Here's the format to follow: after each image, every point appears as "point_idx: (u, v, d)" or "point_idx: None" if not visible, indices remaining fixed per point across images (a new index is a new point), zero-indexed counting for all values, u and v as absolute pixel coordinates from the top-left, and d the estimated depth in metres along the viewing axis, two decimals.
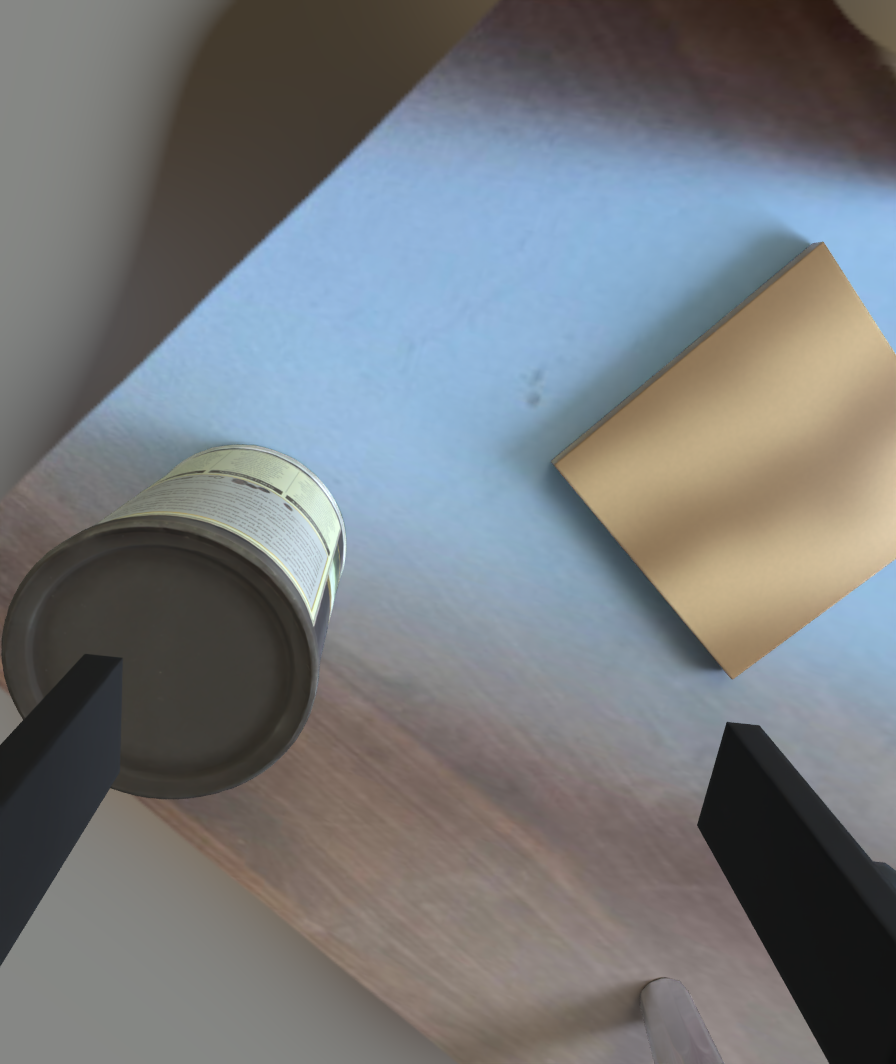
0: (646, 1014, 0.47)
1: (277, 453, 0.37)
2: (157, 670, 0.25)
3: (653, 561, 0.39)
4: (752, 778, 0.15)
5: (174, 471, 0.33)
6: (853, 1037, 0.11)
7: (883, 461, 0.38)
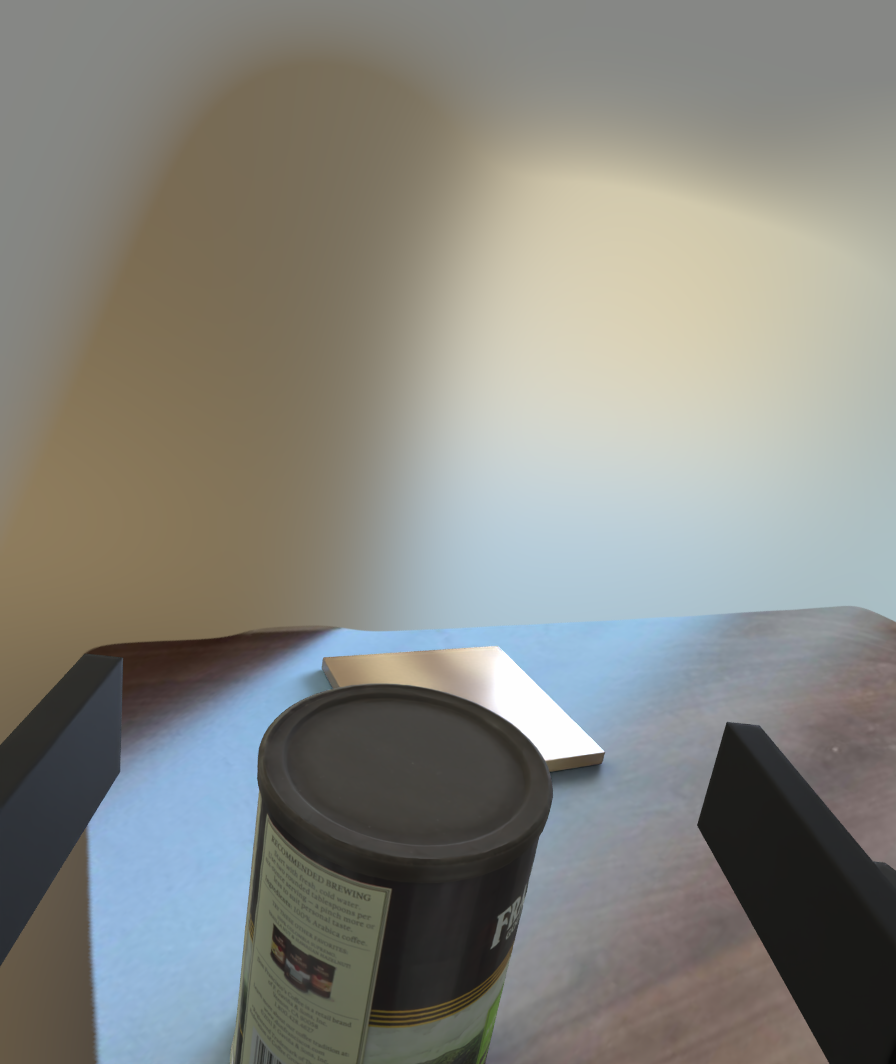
0: None
1: None
2: (410, 764, 0.26)
3: None
4: (752, 778, 0.15)
5: None
6: (853, 1037, 0.11)
7: (463, 667, 0.61)
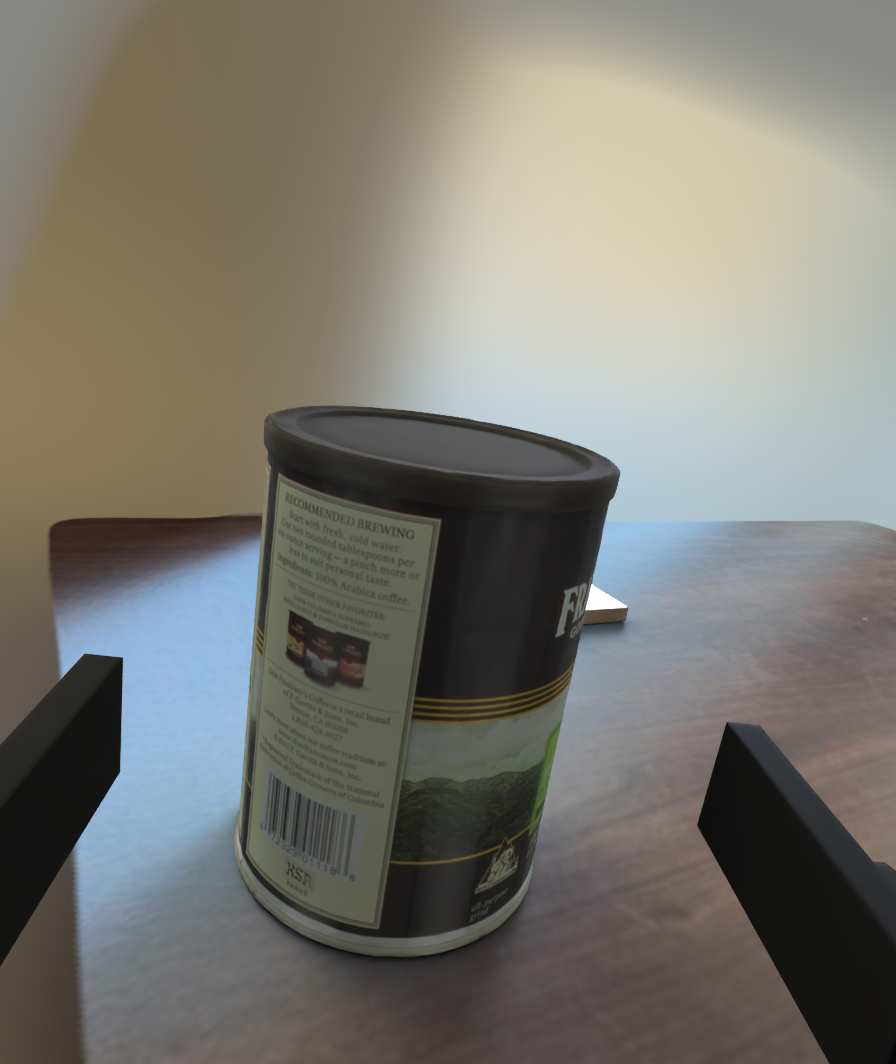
0: None
1: None
2: (447, 444, 0.22)
3: None
4: (752, 778, 0.15)
5: None
6: (853, 1037, 0.11)
7: None
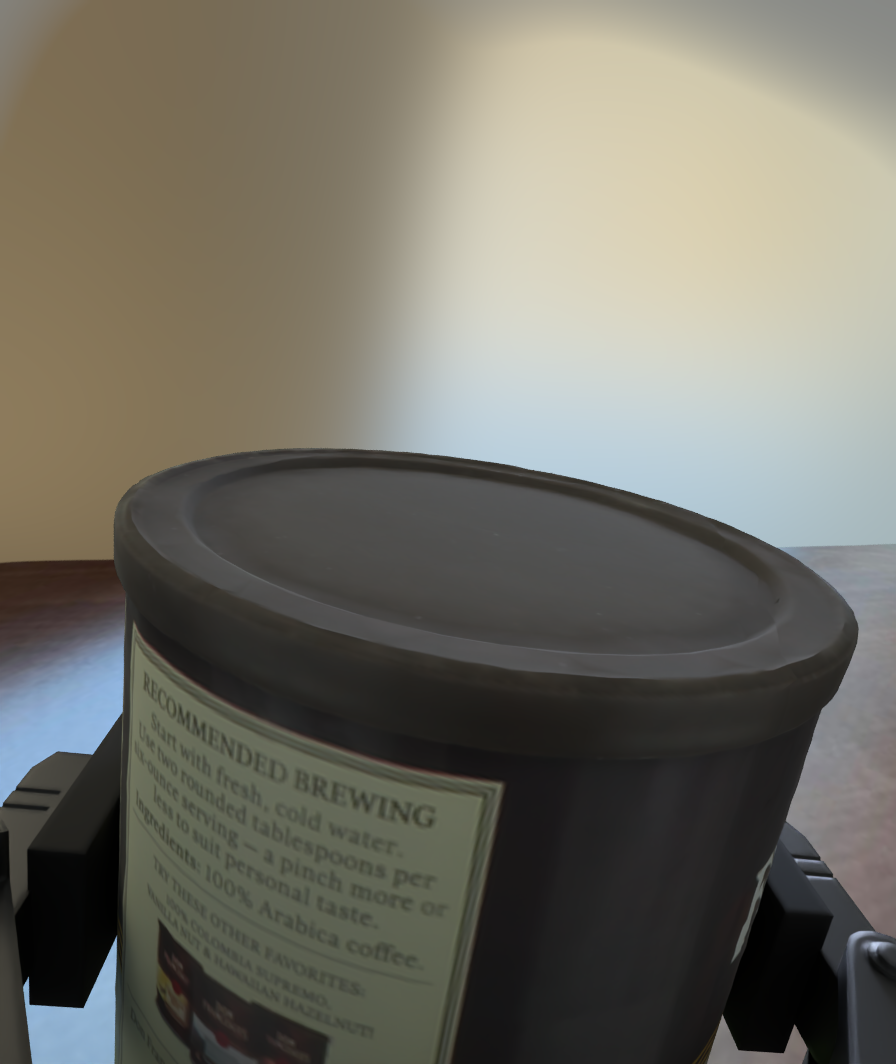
0: None
1: None
2: (491, 535, 0.11)
3: None
4: None
5: None
6: None
7: None
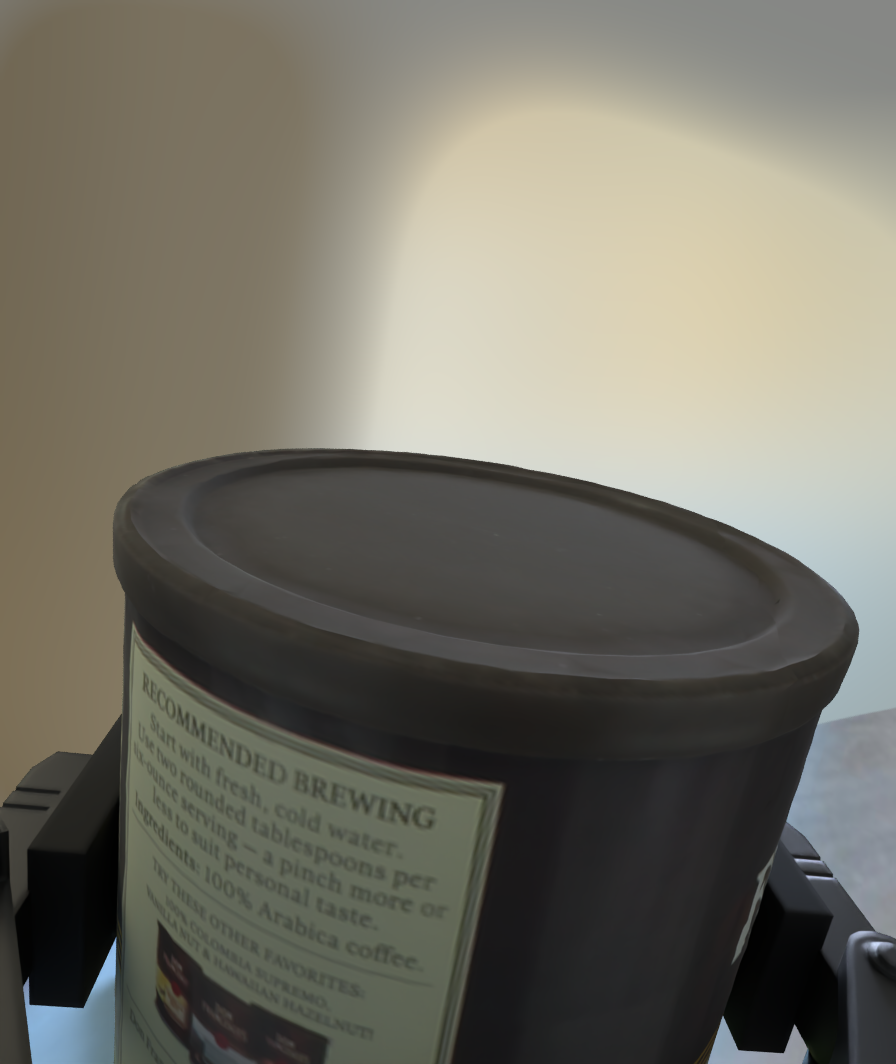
0: None
1: None
2: (491, 536, 0.11)
3: None
4: None
5: None
6: None
7: None
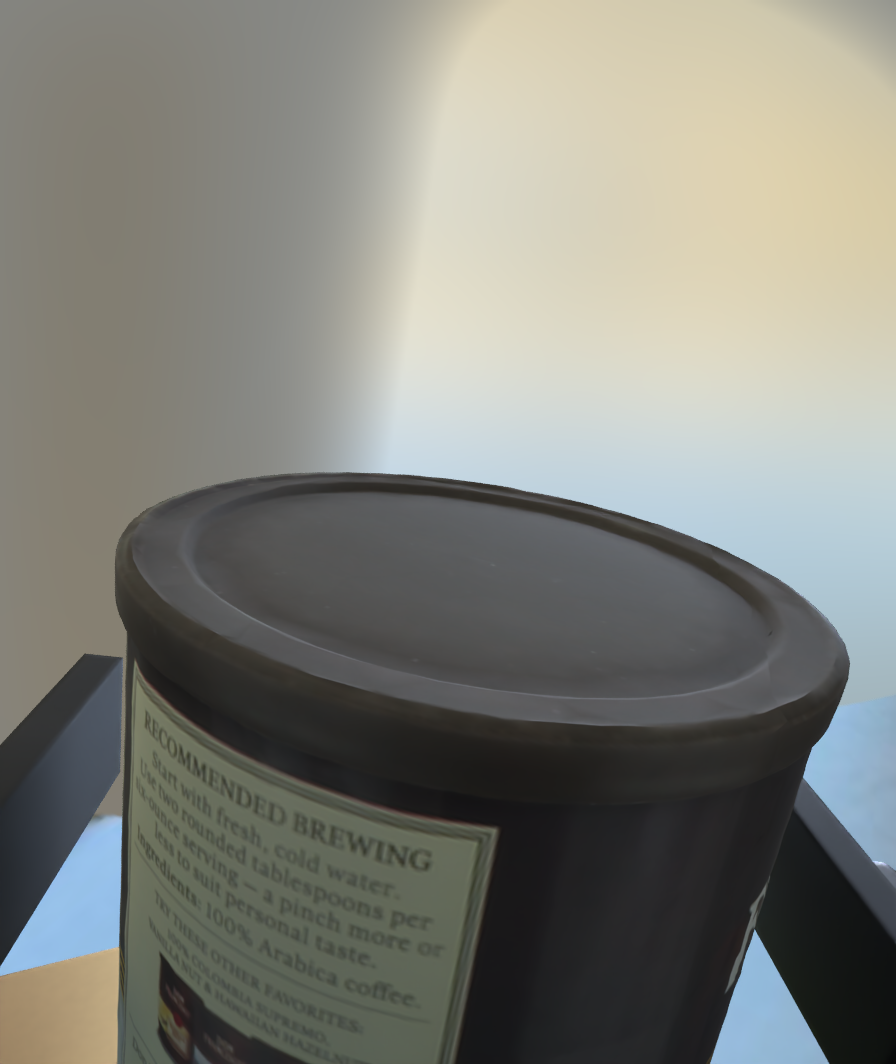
0: None
1: None
2: (488, 565, 0.11)
3: None
4: None
5: None
6: (853, 1037, 0.11)
7: None
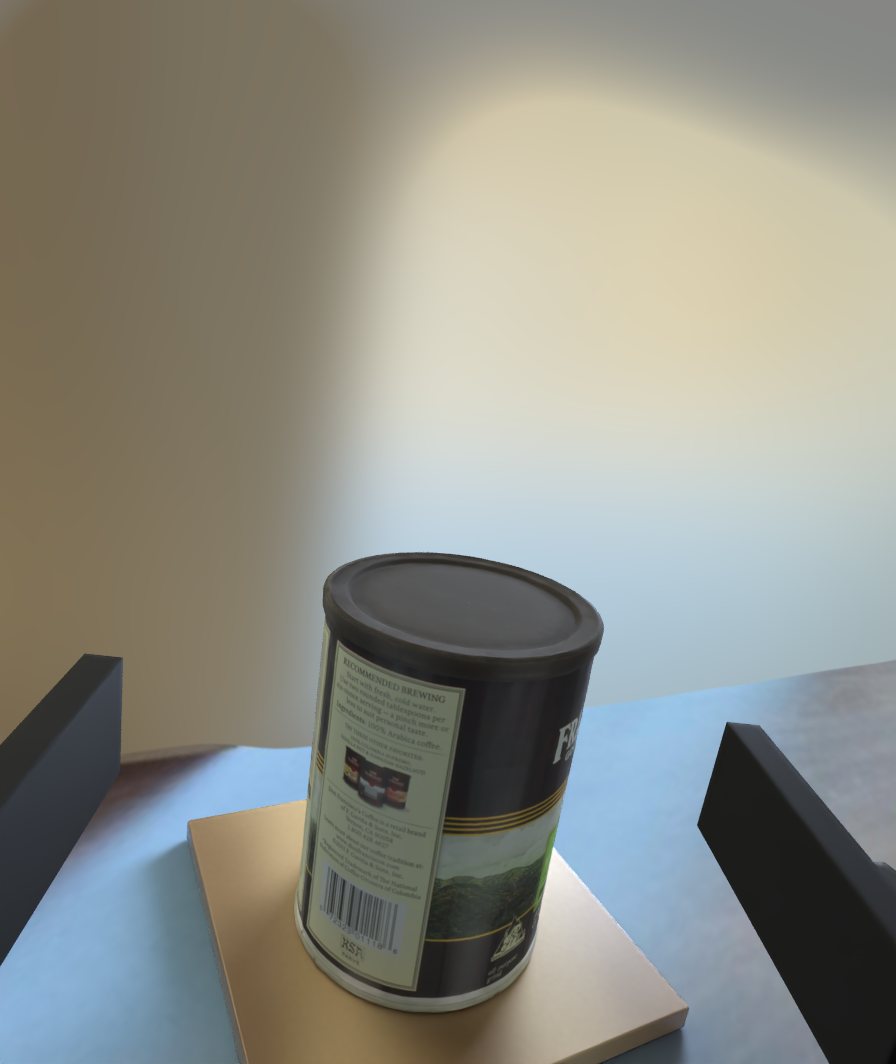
0: None
1: None
2: (466, 602, 0.27)
3: None
4: (752, 777, 0.15)
5: (304, 826, 0.29)
6: (853, 1037, 0.11)
7: None
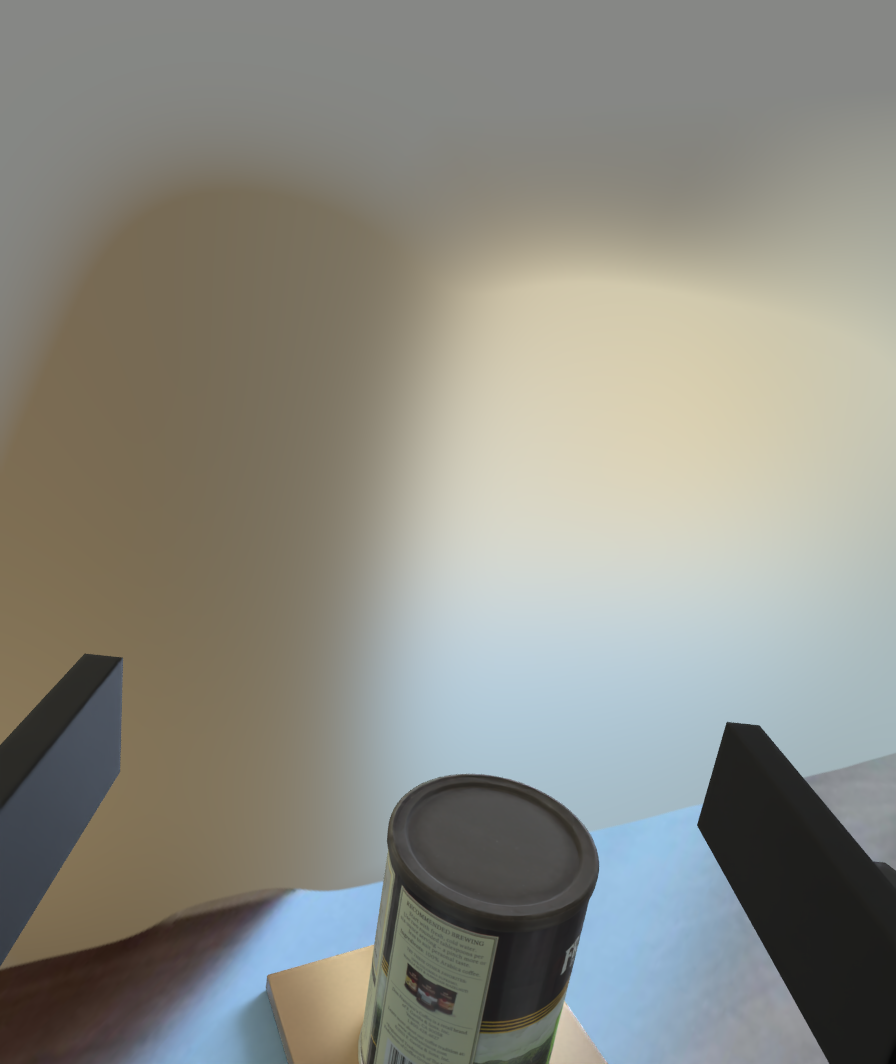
0: None
1: None
2: (495, 842, 0.36)
3: None
4: (752, 778, 0.15)
5: (368, 1001, 0.38)
6: (853, 1037, 0.11)
7: None
